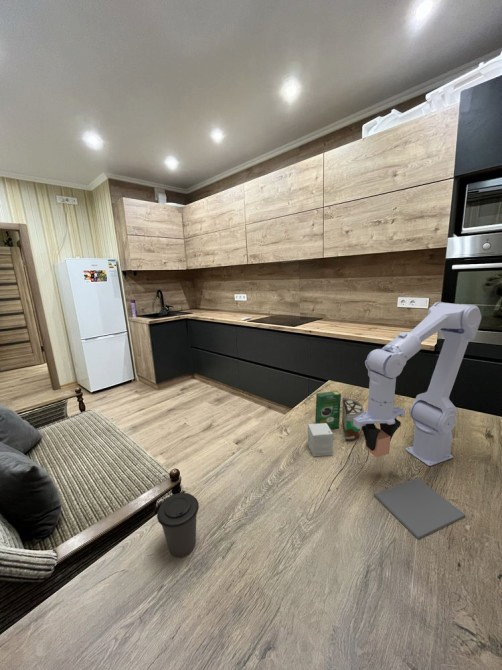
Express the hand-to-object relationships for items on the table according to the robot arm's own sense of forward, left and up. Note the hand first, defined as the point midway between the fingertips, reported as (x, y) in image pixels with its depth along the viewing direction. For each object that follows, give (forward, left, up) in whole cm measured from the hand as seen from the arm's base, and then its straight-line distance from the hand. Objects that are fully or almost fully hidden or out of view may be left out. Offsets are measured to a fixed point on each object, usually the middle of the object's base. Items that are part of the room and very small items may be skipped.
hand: (377, 446), depth 72 cm
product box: (+7, -15, -9) cm, 19 cm away
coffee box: (-2, -24, -9) cm, 26 cm away
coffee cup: (+50, 0, -9) cm, 51 cm away
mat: (-2, +11, -9) cm, 14 cm away
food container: (-8, -18, -9) cm, 21 cm away
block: (0, 0, -2) cm, 2 cm away
